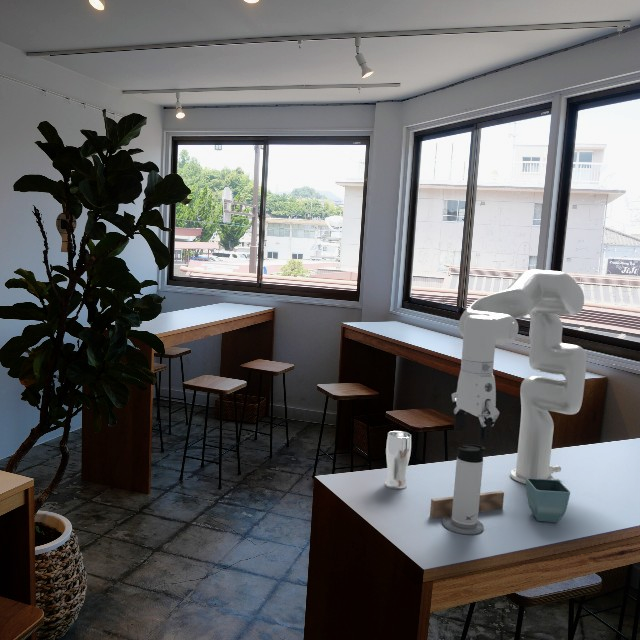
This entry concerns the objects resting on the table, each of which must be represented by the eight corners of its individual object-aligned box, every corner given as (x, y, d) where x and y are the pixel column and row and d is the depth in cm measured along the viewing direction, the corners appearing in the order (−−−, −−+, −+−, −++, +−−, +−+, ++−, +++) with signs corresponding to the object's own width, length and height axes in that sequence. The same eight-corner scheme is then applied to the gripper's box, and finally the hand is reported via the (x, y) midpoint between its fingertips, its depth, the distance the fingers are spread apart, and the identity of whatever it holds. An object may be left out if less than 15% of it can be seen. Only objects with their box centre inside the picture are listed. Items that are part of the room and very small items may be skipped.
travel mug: (474, 532, 150) (481, 451, 148) (447, 524, 154) (454, 445, 151) (481, 523, 156) (488, 445, 153) (455, 516, 159) (462, 439, 157)
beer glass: (379, 486, 178) (383, 434, 176) (388, 478, 184) (392, 429, 182) (403, 491, 174) (407, 439, 173) (411, 484, 181) (415, 433, 179)
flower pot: (522, 509, 167) (525, 477, 166) (555, 512, 167) (559, 479, 166) (532, 524, 158) (535, 490, 157) (567, 526, 158) (571, 492, 157)
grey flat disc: (467, 515, 161) (467, 513, 161) (492, 532, 152) (492, 530, 152) (434, 519, 157) (434, 517, 157) (457, 537, 148) (458, 535, 148)
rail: (499, 506, 168) (501, 490, 167) (502, 508, 167) (504, 492, 166) (429, 516, 159) (431, 499, 159) (432, 518, 158) (433, 500, 158)
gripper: (513, 374, 144) (507, 445, 146) (468, 359, 160) (463, 424, 162) (486, 375, 141) (481, 448, 143) (443, 360, 157) (438, 426, 159)
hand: (471, 435), depth 153 cm, fingers open, 9 cm apart
